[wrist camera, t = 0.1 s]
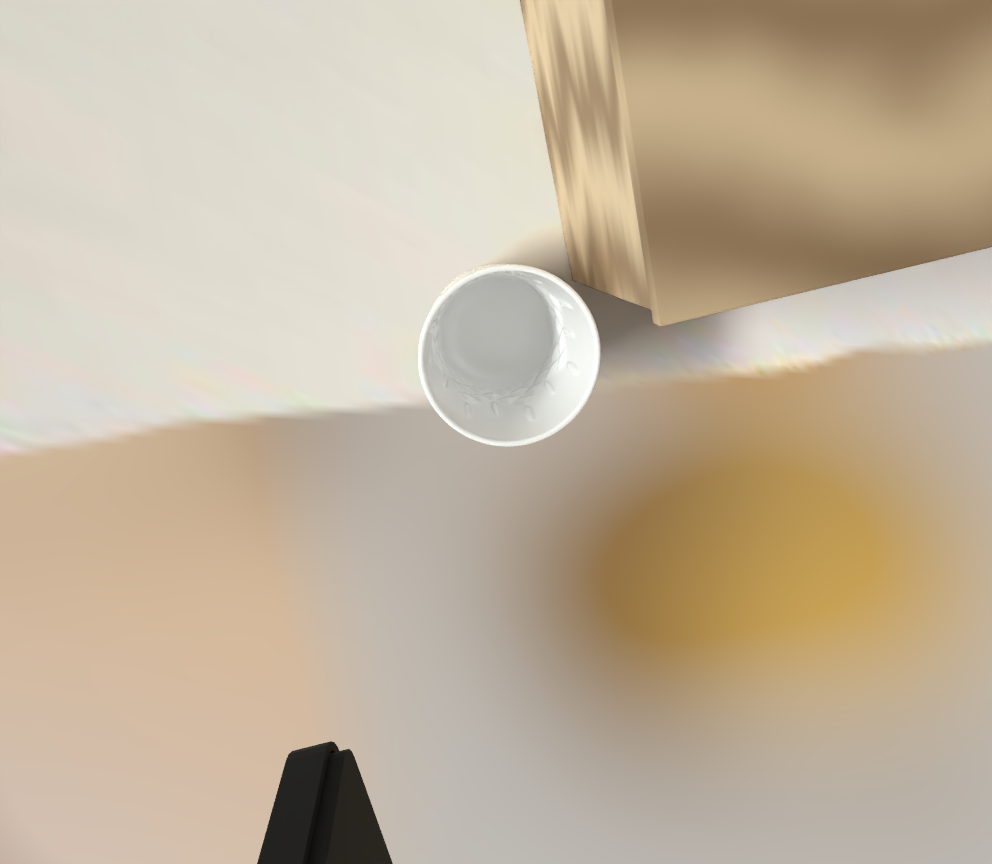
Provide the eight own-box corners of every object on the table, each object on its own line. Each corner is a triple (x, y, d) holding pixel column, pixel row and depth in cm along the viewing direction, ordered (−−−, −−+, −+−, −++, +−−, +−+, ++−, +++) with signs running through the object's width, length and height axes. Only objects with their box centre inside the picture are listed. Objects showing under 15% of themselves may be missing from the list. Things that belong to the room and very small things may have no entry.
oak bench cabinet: (503, -46, 33) (566, -300, 17) (785, -112, 34) (1105, -421, 18) (566, 285, 38) (660, 326, 22) (812, 226, 38) (1081, 225, 22)
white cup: (567, 261, 38) (612, 271, 28) (553, 397, 40) (589, 451, 31) (425, 249, 37) (422, 257, 28) (419, 390, 39) (413, 442, 30)
